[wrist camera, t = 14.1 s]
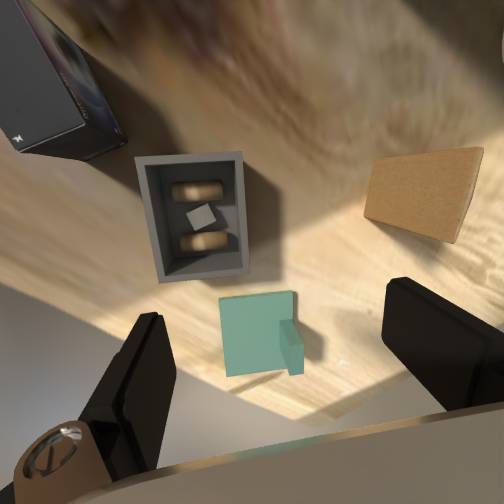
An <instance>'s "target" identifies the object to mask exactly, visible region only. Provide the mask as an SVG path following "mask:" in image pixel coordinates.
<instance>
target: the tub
mask: <svg viewBox="0 0 504 504" xmlns="http://www.w3.org/2000/svg"><path fill="white" fill-rule="evenodd" d="M134 159H135V164H136V169H137V174H138V179H139V184H140V189H141V194H142V199H143V204H144V210H145V215H146V220H147V225H148V230H149V235H150V240H151V245H152V250H153V256H154V261H155V266H156V271H157V276H158V281H159V283H169V282H178V281H187V280H197V279H206V278H216V277H225V276H234V275H244V274H250V262H249V247H248V232H247V217H246V202H245V187H244V172H243V157H242V151H238V152H219V153H200V154H181V155H162V156H143V157H134ZM213 180H222V188H223V200H209V201H195V202H181V203H175V202H174V199H173V195H172V183H181V182H197V181H213ZM207 202H209V204H210V206H211V208H212V210H213V212H214V214H215V217H216V221H215V222H213V223H211V224H209V225H206V226H204V227H202V228H200V229H198V230H194V228H193V226H192V224H191V222H190V221H189V219H188V217H187V215H186V213H187V212H188V211H190V210H192V209H194V208H196V207H198V206H201V205H203V204H205V203H207ZM216 231H227V241H228V248H226V249H216V250H205V251H194V252H184V253H183V252H182V250H181V246H180V235H181V234H193V233H204V232H216Z"/></svg>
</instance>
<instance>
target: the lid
mask: <svg viewBox="0 0 504 504" xmlns="http://www.w3.org/2000/svg"><path fill="white" fill-rule="evenodd" d="M219 308H220V318H221V328H222V337H223V347H224V357H225V367H226V376H227V377H231V376H238V375H245V374H252V373H259V372H266V371H273V370H280V369H288V372H289V375H290V376H291V375H298V374H304V342H303V341H302V339H301V337H300V335H299V333H298V331H297V329H296V327H295V325H294V323H293V292H292V290H289V291H280V292H270V293H261V294H251V295H242V296H233V297H223V298H219Z"/></svg>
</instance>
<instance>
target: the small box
mask: <svg viewBox="0 0 504 504" xmlns="http://www.w3.org/2000/svg"><path fill="white" fill-rule="evenodd" d="M0 128H1V129H2V131H3V132H4V134H5V135H6V137H7V138H8V140H9V141H10V143H11V144H12V146H13V147H14V149H15V150H16V151H17V152H19V153H32V154H39V155H46V156H53V157H59V158H66V159H74V160H80V161H83V162H86V161H88V160H90V159H91V158H95V157H96V156H98V155H100V154H103V153H105V152H108V151H110V150H112V149H116V148H118V147H120V146H122V145H124V144H126V143H128V140H127V138H126V136H125V134H124V132H123V130H122V128H121V126H120V125H119V123H118V121H117V119H116V117H115V115H114V113H113V111H112V109H111V107H110V105H109V103H108V101H107V100H106V98H105V96H104V94H103V92H102V90H101V88H100V86H99V84H98V82H97V80H96V78H95V76H94V75H93V73H92V71H91V69H90V67H89V65H88V63H87V61H86V59H85V57H84V55H83V53H82V52H81V50H80V48H79V46H78V45H77V44H76V43H75V42H74V41H73V40H72V39H71V38H70V37H69V36H67V35H66V34H65V33H64V32H63V31H62V30H61V29H60V28H59V27H58V26H57V25H56V24H55V23H54V22H53V21H52V20H50V19H49V18H48V17H47V16H46V15H45V14H44V13H43V12H42V11H41V10H40V9H39V8H38V7H37V6H36V5H35V4H34V3H33V2H31V1H30V0H0Z"/></svg>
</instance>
